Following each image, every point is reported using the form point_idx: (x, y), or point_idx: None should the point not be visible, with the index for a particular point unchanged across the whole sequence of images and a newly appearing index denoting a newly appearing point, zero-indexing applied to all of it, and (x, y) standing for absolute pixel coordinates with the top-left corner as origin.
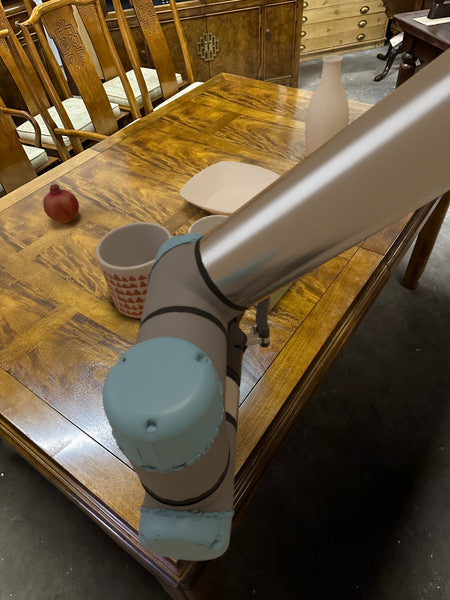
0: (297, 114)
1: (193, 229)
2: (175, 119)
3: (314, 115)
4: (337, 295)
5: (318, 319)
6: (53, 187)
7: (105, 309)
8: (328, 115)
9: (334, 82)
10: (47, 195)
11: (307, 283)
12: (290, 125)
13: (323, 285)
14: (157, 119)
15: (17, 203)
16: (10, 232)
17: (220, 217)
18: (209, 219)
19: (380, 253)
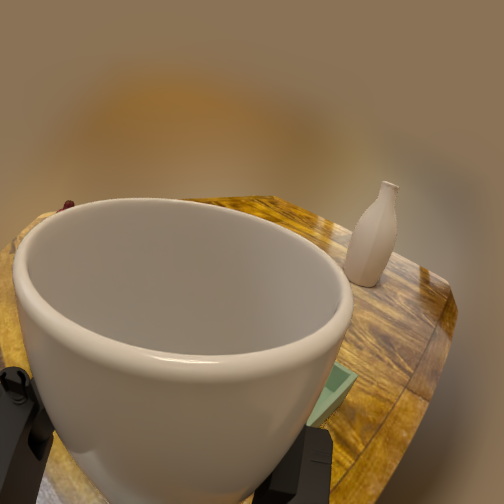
0: (333, 237)
1: (100, 224)
2: (222, 206)
3: (365, 228)
4: (379, 458)
5: (348, 499)
6: (68, 202)
7: (25, 358)
8: (379, 232)
9: (390, 204)
10: (60, 209)
11: (339, 432)
12: (327, 242)
13: (361, 439)
14: (206, 201)
15: (47, 217)
16: (21, 236)
17: (242, 222)
18: (192, 217)
19: (427, 399)
